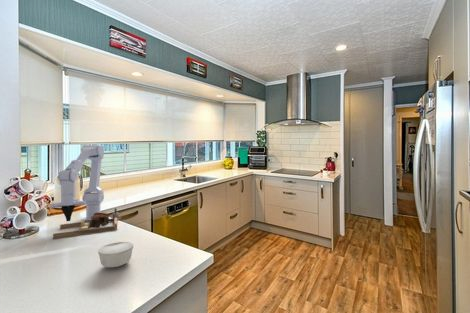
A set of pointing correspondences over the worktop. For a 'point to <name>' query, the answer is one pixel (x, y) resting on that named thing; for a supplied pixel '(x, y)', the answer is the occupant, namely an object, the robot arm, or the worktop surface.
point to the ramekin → (115, 254)
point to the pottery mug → (99, 220)
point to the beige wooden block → (84, 225)
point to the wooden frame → (86, 231)
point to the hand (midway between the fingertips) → (68, 220)
